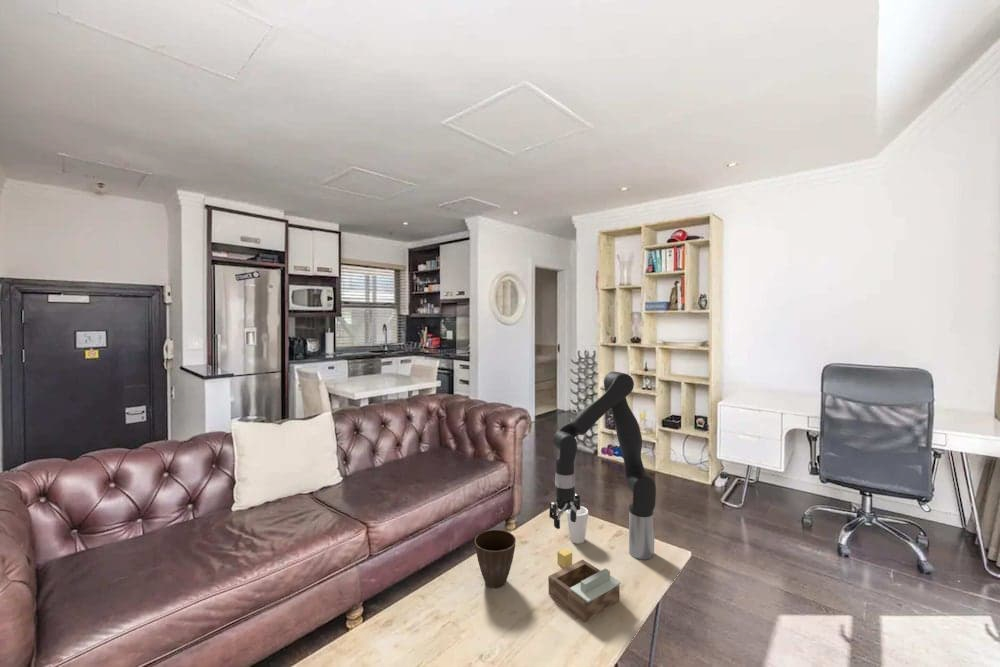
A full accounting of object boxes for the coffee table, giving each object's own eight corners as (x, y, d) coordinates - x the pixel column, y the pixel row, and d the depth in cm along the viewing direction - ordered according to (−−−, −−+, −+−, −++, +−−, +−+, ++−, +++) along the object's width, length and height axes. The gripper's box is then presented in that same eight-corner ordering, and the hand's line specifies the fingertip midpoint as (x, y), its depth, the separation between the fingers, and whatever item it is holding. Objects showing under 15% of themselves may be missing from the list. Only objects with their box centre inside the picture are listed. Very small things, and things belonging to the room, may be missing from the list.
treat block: (564, 560, 171) (564, 548, 171) (572, 565, 168) (572, 552, 168) (557, 563, 169) (557, 551, 169) (564, 568, 166) (564, 556, 166)
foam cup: (591, 537, 188) (591, 508, 187) (583, 547, 180) (583, 517, 179) (571, 532, 193) (571, 503, 192) (562, 541, 185) (562, 512, 185)
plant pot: (505, 566, 168) (504, 526, 167) (523, 588, 155) (523, 544, 154) (469, 576, 162) (468, 535, 161) (485, 600, 148) (484, 555, 147)
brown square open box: (582, 576, 161) (582, 559, 161) (619, 600, 147) (619, 582, 147) (548, 594, 151) (548, 576, 151) (584, 622, 137) (584, 602, 137)
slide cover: (602, 572, 152) (602, 562, 152) (620, 583, 146) (620, 573, 145) (569, 589, 143) (569, 579, 143) (587, 602, 136) (587, 591, 136)
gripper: (571, 476, 173) (571, 515, 174) (544, 485, 165) (544, 526, 166) (585, 482, 167) (585, 523, 168) (558, 491, 159) (558, 534, 160)
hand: (565, 524), depth 167 cm, fingers open, 8 cm apart
